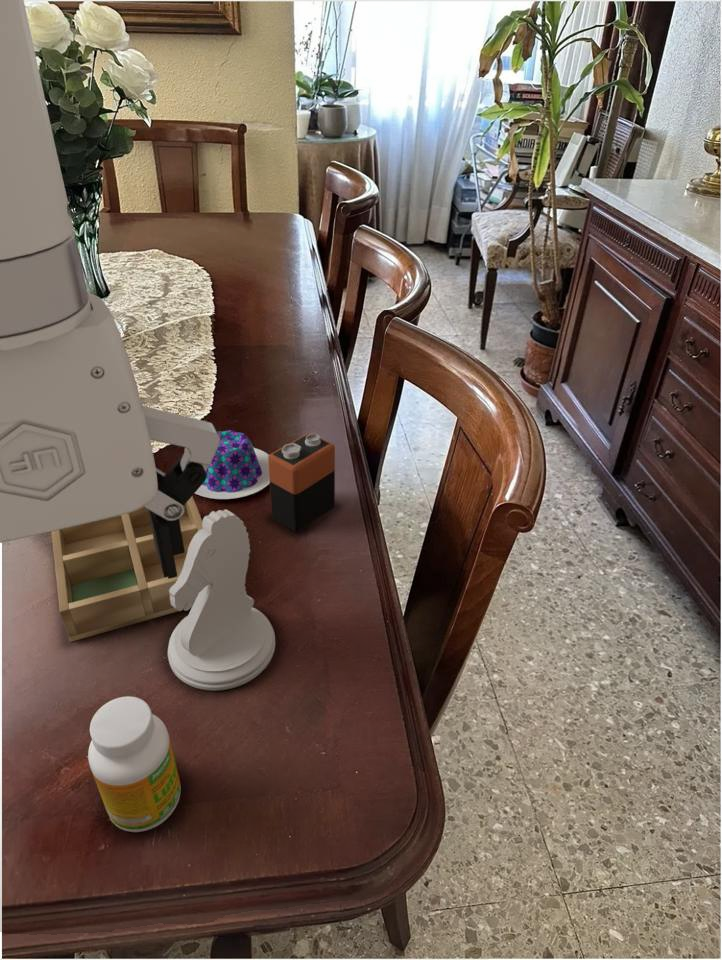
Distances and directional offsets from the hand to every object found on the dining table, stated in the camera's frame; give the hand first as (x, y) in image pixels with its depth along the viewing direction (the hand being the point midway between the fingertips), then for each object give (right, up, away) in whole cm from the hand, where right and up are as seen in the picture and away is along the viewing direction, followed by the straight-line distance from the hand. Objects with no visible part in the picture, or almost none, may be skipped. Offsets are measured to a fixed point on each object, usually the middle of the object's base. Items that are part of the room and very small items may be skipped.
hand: (79, 585), depth 37 cm
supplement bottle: (-1, -18, +13) cm, 22 cm away
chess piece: (+3, -10, +25) cm, 27 cm away
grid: (-8, -4, +33) cm, 34 cm away
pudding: (-1, +6, +48) cm, 48 cm away
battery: (+9, +2, +42) cm, 43 cm away
